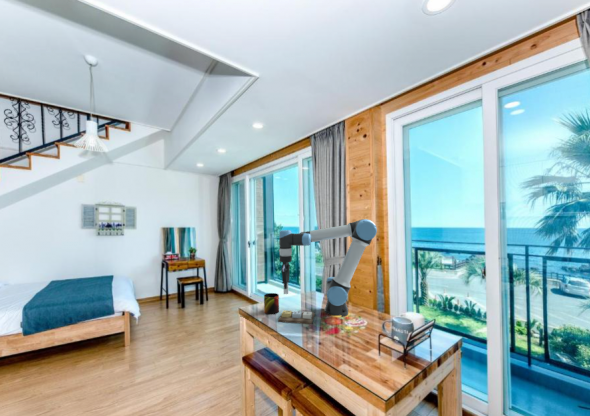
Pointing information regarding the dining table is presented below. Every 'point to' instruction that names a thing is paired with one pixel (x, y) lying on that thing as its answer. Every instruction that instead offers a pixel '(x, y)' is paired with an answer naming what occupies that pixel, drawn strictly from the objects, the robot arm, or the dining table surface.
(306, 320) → the board
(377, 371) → the dining table surface
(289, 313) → the tile
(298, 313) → the two-dot tile
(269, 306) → the mug
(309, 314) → the tile
